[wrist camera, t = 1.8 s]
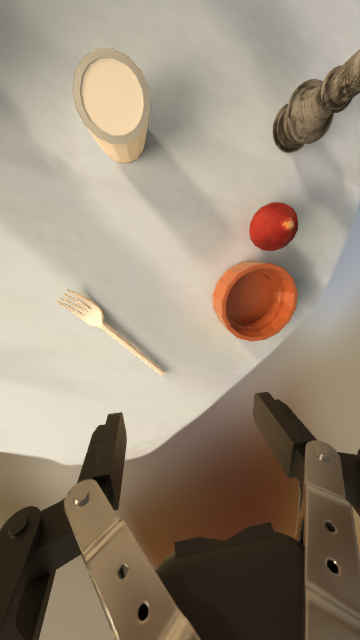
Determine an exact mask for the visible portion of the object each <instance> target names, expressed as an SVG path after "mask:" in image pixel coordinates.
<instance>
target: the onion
mask: <svg viewBox="0 0 360 640" xmlns="http://www.w3.org/2000/svg"><path fill="white" fill-rule="evenodd" d="M297 230H298V219H297V214H296V212H295V211H294V209H293V208H292V207H290V206H288V205H286V204H284V203H276V202H274V203H270V204H268V205H265V206H263V207H262V208H260V209H259V210H258V211H257V212H256V213H255V215H254V217H253V219H252V221H251V224H250V230H249V232H250V238H251V240H252V242H253V243H254V244H255V246H257V247H259V248H260V249H262V250H267V251H274V250H277V249H280V248H283V247H285V246H286V245H287V244H288V243H289V242H290V241H292V240H293V238H294V236H295V234H296V232H297Z"/></svg>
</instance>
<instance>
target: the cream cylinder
mask: <svg viewBox="0 0 360 640" xmlns="http://www.w3.org/2000/svg"><path fill="white" fill-rule="evenodd" d="M73 95H74V100H75V105H76V110H77V111H78V113H79V115H80V117H81V119H82V121H83V123H84V125H85V126H86V128H87V129H88V130H89V132H90V133H91V134H92V136H93V137H94V138H95V140H96V141H97V142H98V144H99V145H100V146H101V148H102V149H103V150H104V152H105V153H106V154H107V155H109V156H110V157H111V158H112V159H113V160H115V161H118V162H120V163H130V162H132V161H134V160H135V159H137V158H138V157H139V156H140V154H141V153H142V151H143V149H144V145H145V140H146V134H147V128H148V121H149V115H150V109H151V106H150V96H149V88H148V86H147V83H146V81H145V79H144V76H143V74H142V71H141V70H140V69H139V68H138V67H137V65H136V64H135V63H134V62H133V61H132V60H131V59H130V57H129V56H127V55H125V54H123V53H121V52H119V51H117V50H115V49H99V48H97V49H96V50H94V51H92V52H91V53H89V54H87V55H86V56H84V57H83V59H82V61H81V62H80V64H79V66H78V67H77V69H76V71H75V76H74V83H73Z"/></svg>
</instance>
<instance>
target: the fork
mask: <svg viewBox="0 0 360 640" xmlns="http://www.w3.org/2000/svg"><path fill="white" fill-rule="evenodd" d="M67 291H68V292H70V293H71V294H73V295H75V296H76V297H78V298H79V299H81V300H82V301H83V302H85V303H86V304H87V305H89V306H90V307H91V308H90V307H88V306H87V305H85V304H84V303H82V302H80V301H78V300H76V299H75V298H73V297H71V296H69V295H66V294H63V295H64V296H66V297H68V298H69V299H71V300H73V301H74V302H76V303H78V304H79V305H81V306H82V307H84V308H85V309H87V310H88V311H86V310H85V309H83V308H81V307H80V306H78V305H76V304H74V303H72V302H70V301H68V300H66V299H64V298H62V297H60V299H61V300H63V301H65V302H67V303H69V304H70V305H72V306H74V307H75V308H77V309H78V310H80V311H82V312H83V313H84V314H83V313H81V312H80V311H78V310H76V309H74V308H72V307H70V306H68V305H66V304H64V303H62V302H60V301H56V302H58V303H59V304H61V305H62V306H64V307H65V308H67V309H68V310H70V311H71V312H73V313H74V314H75V315H77V316H78V317H79V318H81V319H82V320H83V321H85V322H86V323H88V324H89V325H92V326H98V327H100V328H102V329H103V330H104V331H105V332H107V333H108V334H109V335H110V336H112V337H113V338H114V339H115V340H117V341H118V342H119V343H121V344H122V345H123V346H124V347H126V348H127V349H128V350H129V351H131V352H132V353H133V354H135V355H136V356H137V357H138V358H140V359H141V360H142V361H143V362H145V363H146V364H147V365H148V366H150V367H151V368H152V369H154V370H155V371H156V372H157V373H159V374H160V375H161V376H162V375H163V374H164V373H165V372H164V371H163V370H161V369H160V368H159V367H158V366H157V365H155V364H154V363H153V362H152V361H151V360H150V359H148V358H147V357H146V356H145V355H144V354H142V353H141V352H140V351H139V350H138V349H136V348H135V347H134V346H133V345H132V344H130V343H129V342H128V341H127V340H126V339H125V338H123V337H122V336H121V335H120V334H119V333H117V332H116V331H115V330H114V329H113V328H111V327H110V326H109V325H108V324H107V323H106V322H105V321H104V314H103V311H102V309H101V308H100V307H99V306H98V305H97V304H96V303H94V302H93V301H91V300H89V299H88V298H86V297H84V296H82V295H80V294H78V293H75V292H73V291H70V290H67Z"/></svg>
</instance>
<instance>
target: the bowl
mask: <svg viewBox="0 0 360 640" xmlns="http://www.w3.org/2000/svg"><path fill="white" fill-rule="evenodd" d="M296 303H297V289H296V286H295V283H294V279H293V278H292V277H291V276H290V275H289V273H288V272H287V271H286V270H285V269H284V268H281V267H279V266H276V265H273V264H270V263H263V262H256V261H252V262H242V263H239V264H237V265H236V266H234V267H232V268H230V269H228V270H227V271H226V272H225V273H224V275H223V276H222V277H221V278H220V279H219V281H218V282H217V285H216V288H215V290H214V293H213V309H214V311H215V313H216V315H217V317H218V319H219V321H220V322H221V323H222V324H223V325H224V326H225V327H226V328H227V329H228V330H229V331H230V332H231V333H233V334H234V335H235V336H236V337H237V338H240V339H244V340H248V341H258V340H265V339H267V338H269V337H271V336H273V335H275V334H277V333H279V332H280V331H281V330H282V328H283V327H284V326H285V325H286V324H287V323H288V322H289V321H290V319H291V317H292V315H293V313H294V311H295V309H296Z"/></svg>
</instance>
